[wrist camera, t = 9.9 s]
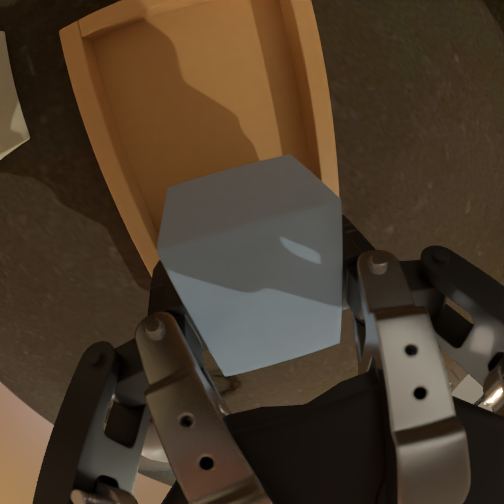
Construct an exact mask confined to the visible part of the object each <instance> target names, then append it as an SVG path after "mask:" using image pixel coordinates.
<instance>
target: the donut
mask: <svg viewBox="0 0 504 504" xmlns="http://www.w3.org/2000/svg"><path fill="white" fill-rule="evenodd" d="M141 455H143V456H144V457H146V458H149V459H152V460H156V461H162V462H169V461H168V459H167V457H166V454H165V452H164V449H163V447H162V445H161V442H160V439H159V437H158V434H157V432H156V429H155V426H154V424H153V422H149V426H148V430H147V434H146V438H145V442H144V446H143V450H142V454H141Z"/></svg>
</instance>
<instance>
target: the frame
mask: <svg viewBox="0 0 504 504" xmlns="http://www.w3.org/2000/svg"><path fill="white" fill-rule="evenodd" d="M59 34H60V39H61V44H62V48H63V53H64V57H65V61H66V65H67V69H68V73H69V76H70V80H71V84H72V87H73V91H74V94H75V97H76V101H77V104H78V107H79V110H80V113H81V116H82V119H83V122H84V125H85V128H86V131H87V134H88V137H89V139H90V142H91V145H92V148H93V150H94V153H95V155H96V158H97V161H98V163H99V166H100V168H101V171H102V173H103V176H104V178H105V180H106V183H107V185H108V188H109V190H110V192H111V195H112V197H113V199H114V201H115V204H116V206H117V208H118V210H119V213H120V215H121V217H122V219H123V221H124V223H125V225H126V228H127V230H128V232H129V234H130V236H131V238H132V240H133V242H134V244H135V246H136V248H137V250H138V252H139V254H140V256H141V258H142V260H143V262H144V264H145V265H146V267H147V269H148V271H149V273H150V275H151V277H152V274H153V269H154V268H155V266H156V264H157V263H158V261H159V260H160V258H159V256H158V254H157V243H158V237H159V232H160V226H161V221H162V215H163V210H164V205H165V200H166V195H167V190H168V188H169V187H171V186H174V185H177V184H180V183H183V182H186V181H190V180H193V179H196V178H200V177H203V176H206V175H210V174H213V173H217V172H220V171H224V170H228V169H231V168H235V167H239V166H243V165H246V164H250V163H254V162H258V161H262V160H267V159H271V158H275V157H279V156H284V155H288V154H291V155H292V156H293V157H294V158H296V159H297V160H298V161H299V162H300V163H302V164H303V165H304V166H305V167H306V168H307V169H308V170H310V171H311V172H312V173H313V174H314V175H315V176H316V177H317V178H319V179H320V180H321V181H322V182H323V183H324V184H325V185H326V186H327V187H329V188H330V189H331V190H332V191H333V192H334V193H335V194H336V195H337V196H338V197H339V183H338V169H337V157H336V146H335V136H334V127H333V118H332V110H331V103H330V96H329V89H328V82H327V76H326V70H325V64H324V59H323V53H322V48H321V43H320V38H319V33H318V29H317V24H316V20H315V15H314V11H313V7H312V3H311V0H121V1H119V2H116V3H114V4H111V5H109V6H107V7H104V8H102V9H100V10H98V11H96V12H94V13H91V14H89V15H87V16H85V17H83V18H81V19H80V20H79V21H76V22H74V23H72V24H70V25H68V26H66V27H65V28H63V29H61V30H60V31H59Z"/></svg>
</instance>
